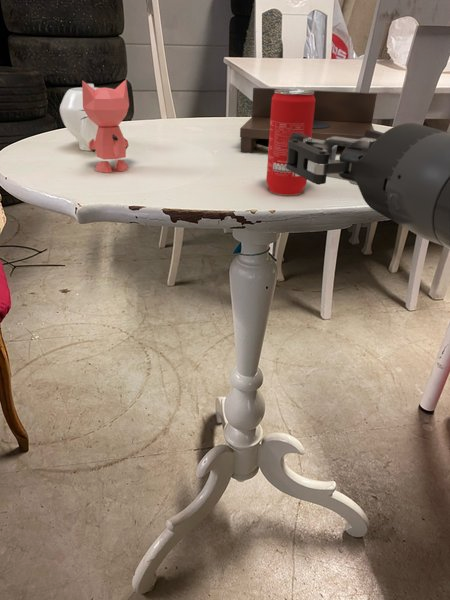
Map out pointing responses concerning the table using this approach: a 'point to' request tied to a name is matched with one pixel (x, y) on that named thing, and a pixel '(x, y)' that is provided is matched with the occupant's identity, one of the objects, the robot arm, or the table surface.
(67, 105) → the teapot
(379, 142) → the robot arm
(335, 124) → the bench
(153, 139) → the table surface
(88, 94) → the cat figurine
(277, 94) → the beverage can
